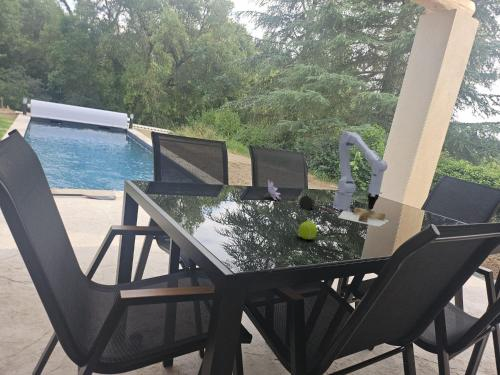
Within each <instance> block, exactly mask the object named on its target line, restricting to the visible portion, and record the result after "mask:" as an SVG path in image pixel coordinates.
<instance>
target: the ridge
mask: <svg viewBox="0 0 500 375" xmlns="http://www.w3.org/2000/svg"><path fill="white" fill-rule="evenodd" d="M367 220H368V216H367V214H366V213H362V215H360V217H359V221H361V222H366V223H367Z"/></svg>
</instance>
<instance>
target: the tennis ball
mask: <svg viewBox="0 0 500 375" xmlns="http://www.w3.org/2000/svg"><path fill="white" fill-rule="evenodd" d="M298 233H299V236H300V237H301V238H302V239H304V240H307V239H308V240H307V241H309V240H313V238H315V237H316V236H317V234H318V227H317V225H316V224H315V223H314V222H312V221H310V220H309V221H308V220H307V221H304V222H302V223H301V224H300V225H299V226H298Z"/></svg>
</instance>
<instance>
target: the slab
mask: <svg viewBox="0 0 500 375" xmlns="http://www.w3.org/2000/svg"><path fill="white" fill-rule="evenodd" d="M359 217H360V216H359V215H355V214H354V211H353V212H352V211H348V210H342V212H340V213H339V215H338V216H337V218H338V219H343V220H346V221H351V222H357V223H359V224H365V225H368V226H372V227H373V226H374V227H377V226H378V227H379V226H381V225H383V224H385V223H386V222H388V223H389V219H386V218H385V220H384V221H382V220H378V219H373V218H369V217H368V220H367V223H366V222H361V221H359ZM379 228H380V227H379Z"/></svg>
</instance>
